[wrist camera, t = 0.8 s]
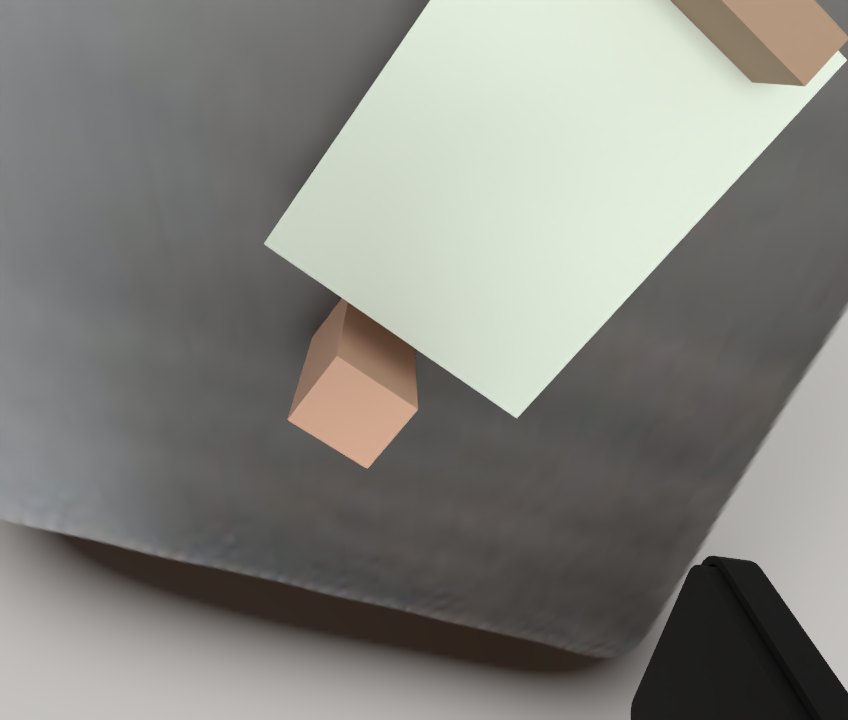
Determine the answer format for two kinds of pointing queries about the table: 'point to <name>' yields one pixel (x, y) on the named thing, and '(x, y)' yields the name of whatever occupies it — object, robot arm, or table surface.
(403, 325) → the lid
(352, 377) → the salmon rectangular block
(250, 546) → the table surface
